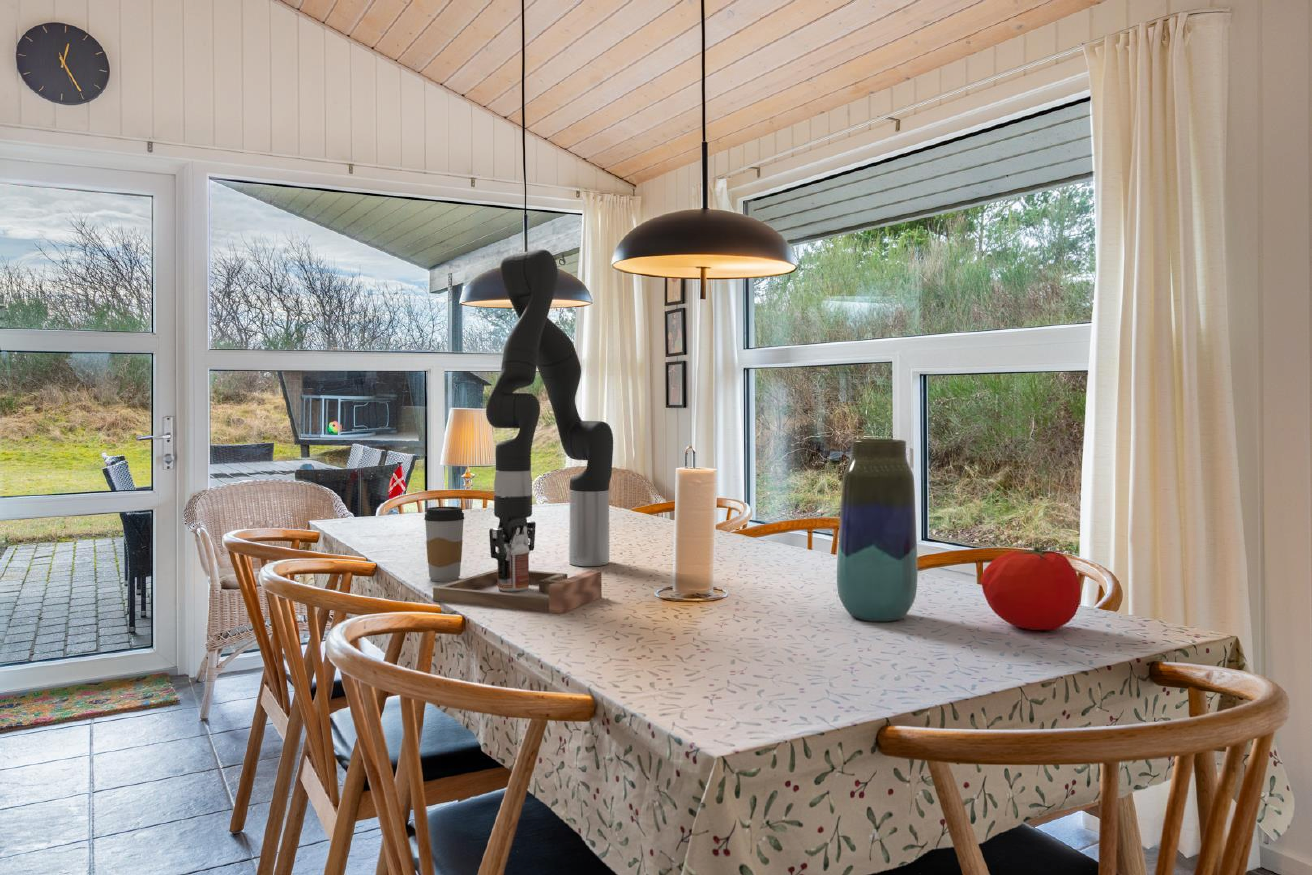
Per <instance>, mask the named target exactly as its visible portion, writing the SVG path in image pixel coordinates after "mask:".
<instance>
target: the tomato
mask: <svg viewBox="0 0 1312 875" xmlns="http://www.w3.org/2000/svg"><path fill="white" fill-rule="evenodd" d="M1044 547H1045V544H1042V546H1040V548H1039V547H1038V546H1034V547H1033V550H1030V549H1024V550H1013V551H1009V552H1005V553H1003V554H1002V555H999V556H998V557H996V558H994V559H993V560H992V561H991V562H990V563H989V564H988V565H987V566H986V567H985V569H984V570H983V571H982V572H983V573H982V576H981V579H980V583H981V588H982V592H983V593H982V594H983V595H984V598H985V600H986V601H987V604H988V606H989V607H990V608H991V610H992V611H993V612H994V614H996V615H997V616H998V617H999V618H1000V619H1002V621H1005V622H1006V623H1008V624H1010V625H1012V626H1014V627H1019V628H1021V629H1024V628H1025V629H1024V630H1028V629H1030V630H1029V631H1054V630H1056V629H1058V628H1061V627H1062V626H1065V625H1067V624H1068V623H1070V621H1071V620H1073V619H1074V616H1076V613H1077V611H1078V609H1079V606H1080V600H1081V583H1080V580H1079V577H1078V573H1077V571H1076V570H1075V568H1074V567H1073V565H1072V564H1071V562H1070V561H1069V559H1068V558H1067V557H1066V556H1065V555H1064V554H1061V553H1060V552H1061V550H1043V549H1044Z"/></svg>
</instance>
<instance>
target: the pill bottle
mask: <svg viewBox="0 0 1312 875" xmlns="http://www.w3.org/2000/svg"><path fill="white" fill-rule="evenodd" d="M524 540H525V534H519V536H517V537H516V543H515V547H514V550H512V551H511V554H510V558H509V560H508V561H510V578H509V579H507V580H502V579H499V578H498V583H497V588H498V590H499V591H500V592H505V593H511V592H512V593H513V592H522V591H526V590H527V589H528V588H529V586H530V584H529V571H530V570H529V569H530V566H529V564H530V563H529V560H530V559H529V555H530V553H529V552H528V547H527V546H526V545H524V544H523V542H524ZM504 544H508V543H504ZM504 552H505V553H506V549H504Z"/></svg>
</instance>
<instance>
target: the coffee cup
mask: <svg viewBox="0 0 1312 875" xmlns="http://www.w3.org/2000/svg"><path fill="white" fill-rule="evenodd" d="M423 520H424V522H425V535H426V542H425V544H426V558H427V563H428V577H429V578H430V581H432V582H455V581H458V580H460V579H459V578H460V576H461V564H462V558H463V557H462V555H463V553H462V552H463V543H464V542H463V537H464V536H463V535H464V533H463V532H464V520H465V512H463V508H462V507H460V506H431V507H427V508H426V511H425V513H424V519H423Z"/></svg>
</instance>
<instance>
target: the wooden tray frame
mask: <svg viewBox="0 0 1312 875" xmlns="http://www.w3.org/2000/svg"><path fill="white" fill-rule="evenodd" d="M602 575H603V573H602V571H601V570H593V569H592V570H590V569H589V570H587V571H583V572H581V573H578V574H576V575H572V576H570V577H568V573H563V572H560V573H559V572H551V571H550V572H549V571H548V572H547V571H540V570H539V571H538V570H529V585H530V584H531V585H538V593H539V594H545V595H547V594H548V596H540V595H532V594H530V595H529V594H520V593H511V592H502V591H500V592H499V591H488V590H481V589H482V588H485V587H488V586H489V587H490V586H491V585H495V584H498V568H497V569H493V570H489V571H487V572H483V573H479V574H475V575H472V576H470V577H465V578H462V579H457V580H454V581H450V582H449V583H448V582H447V583H444V584H441V585H438V586H434V587H432V601H437V602H444V603H445V602H446V603H454V604H463V605H474V606H483V607H491V608H492V607H493V608H502V609H510V610H511V609H512V610H522V611H530V612H541V613H542V612H543V613H549V614H559V615H562V614H565V613H567V612H569V611H572V610H575V609H576V608H579V607H581V606H584V605H586V604H588V603H591V602H593V601H596V600H598V599H601V598H602V596H603V595H602V593H603V592H602V588H603V587H602V584H603V583H602V582H603V581H602V577H603V576H602Z"/></svg>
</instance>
